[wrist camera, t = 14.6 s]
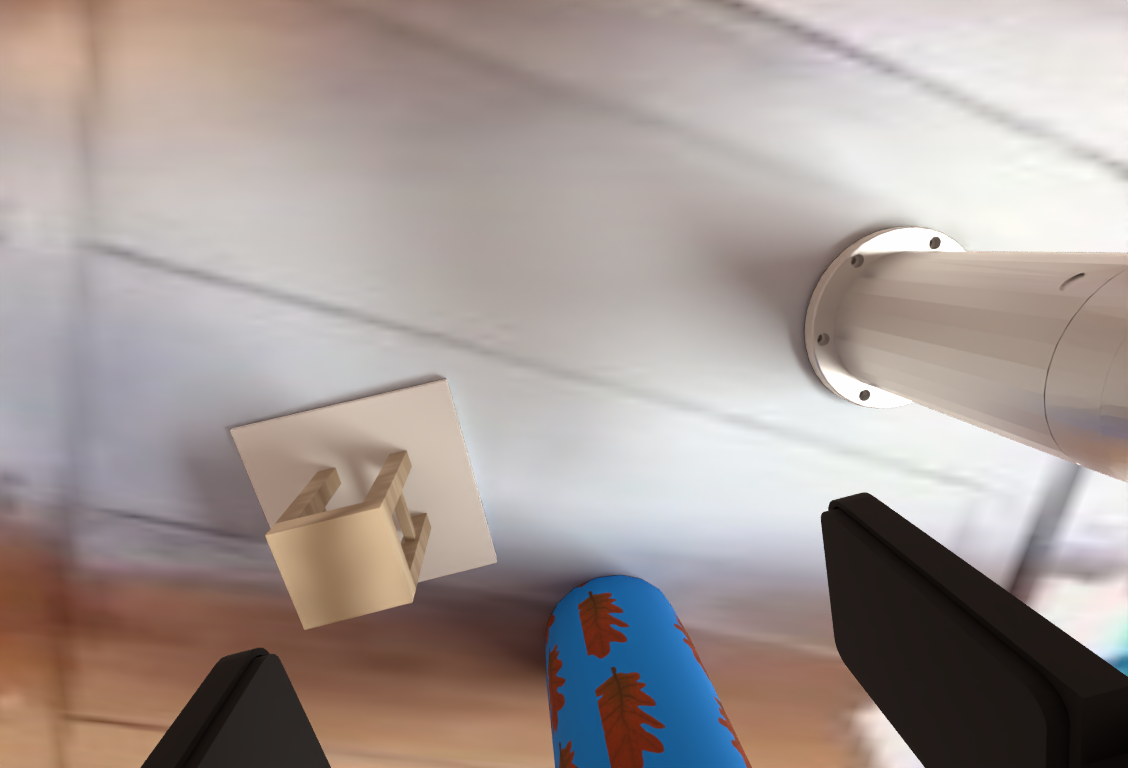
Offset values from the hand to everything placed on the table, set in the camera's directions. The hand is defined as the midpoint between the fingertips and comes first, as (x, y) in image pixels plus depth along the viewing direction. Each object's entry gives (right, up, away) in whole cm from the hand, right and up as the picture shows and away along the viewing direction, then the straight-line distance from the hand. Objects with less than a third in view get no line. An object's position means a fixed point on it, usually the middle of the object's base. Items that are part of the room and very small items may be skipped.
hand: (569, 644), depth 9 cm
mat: (-13, -3, +28) cm, 31 cm away
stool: (-13, -4, +27) cm, 30 cm away
